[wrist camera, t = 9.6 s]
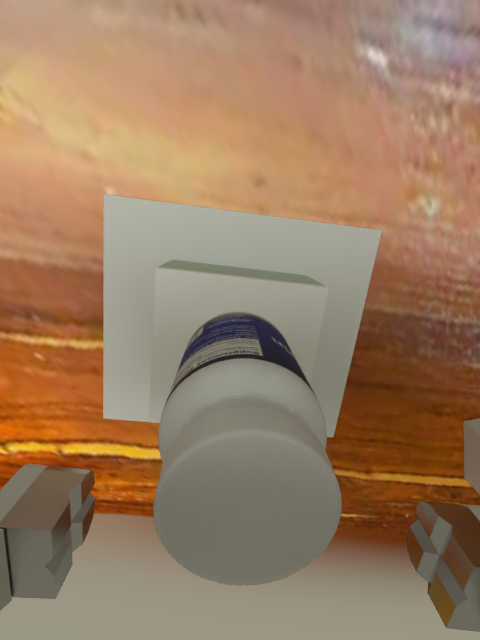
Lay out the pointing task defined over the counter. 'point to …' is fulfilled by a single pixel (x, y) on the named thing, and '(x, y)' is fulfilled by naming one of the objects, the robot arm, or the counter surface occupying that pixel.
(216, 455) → the pill bottle
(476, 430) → the gray rectangular block
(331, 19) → the counter surface
